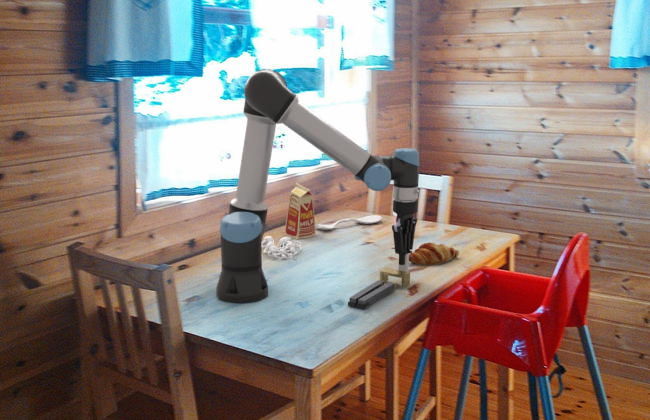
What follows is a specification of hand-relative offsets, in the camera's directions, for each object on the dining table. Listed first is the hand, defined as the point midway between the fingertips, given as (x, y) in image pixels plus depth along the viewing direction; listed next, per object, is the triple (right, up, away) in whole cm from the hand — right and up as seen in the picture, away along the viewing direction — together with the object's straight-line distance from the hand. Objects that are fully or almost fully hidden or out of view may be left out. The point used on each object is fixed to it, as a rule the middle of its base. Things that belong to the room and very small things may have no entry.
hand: (403, 273), depth 228 cm
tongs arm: (-12, -5, -16) cm, 21 cm away
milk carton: (-33, +10, +52) cm, 63 cm away
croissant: (+12, +2, +20) cm, 24 cm away
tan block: (-3, -3, -4) cm, 6 cm away
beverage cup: (+5, +10, +53) cm, 54 cm away
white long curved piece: (-15, +13, +66) cm, 69 cm away
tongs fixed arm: (-9, -5, -15) cm, 18 cm away
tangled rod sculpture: (-39, +5, +31) cm, 50 cm away
